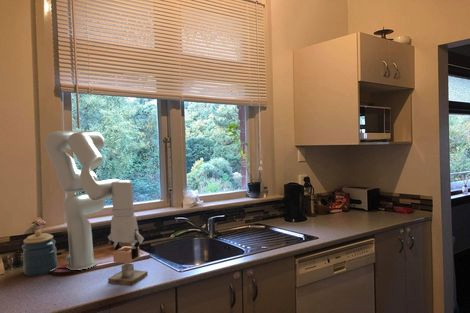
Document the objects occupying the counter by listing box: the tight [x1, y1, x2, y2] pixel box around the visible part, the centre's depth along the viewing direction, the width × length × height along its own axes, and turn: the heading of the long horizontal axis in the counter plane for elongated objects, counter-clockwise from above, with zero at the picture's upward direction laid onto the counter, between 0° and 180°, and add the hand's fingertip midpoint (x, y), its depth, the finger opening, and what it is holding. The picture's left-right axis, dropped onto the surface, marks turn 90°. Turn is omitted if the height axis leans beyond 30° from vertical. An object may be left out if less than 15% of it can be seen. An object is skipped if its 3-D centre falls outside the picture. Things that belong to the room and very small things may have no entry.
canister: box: [21, 230, 59, 277], centre depth 157 cm, size 13×13×18 cm
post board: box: [107, 262, 149, 286], centre depth 144 cm, size 11×10×6 cm
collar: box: [112, 245, 141, 264], centre depth 143 cm, size 7×7×4 cm
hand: (126, 256), depth 143 cm, fingers closed on collar, 7 cm apart
